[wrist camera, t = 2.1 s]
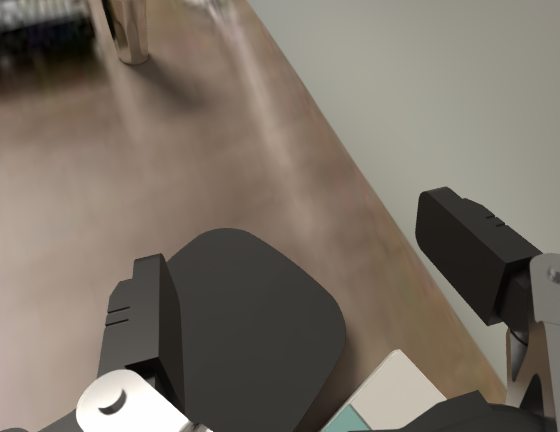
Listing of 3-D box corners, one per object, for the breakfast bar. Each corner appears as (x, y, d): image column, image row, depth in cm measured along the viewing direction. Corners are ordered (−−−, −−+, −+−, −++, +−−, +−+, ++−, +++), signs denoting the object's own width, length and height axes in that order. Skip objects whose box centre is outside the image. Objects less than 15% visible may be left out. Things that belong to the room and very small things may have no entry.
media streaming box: (355, 327, 33) (367, 316, 30) (242, 501, 26) (246, 507, 23) (222, 224, 36) (223, 206, 33) (87, 354, 29) (75, 345, 26)
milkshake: (166, 64, 45) (158, -27, 36) (117, 72, 43) (96, -23, 34) (155, 39, 46) (144, -53, 38) (107, 45, 45) (85, -50, 36)
